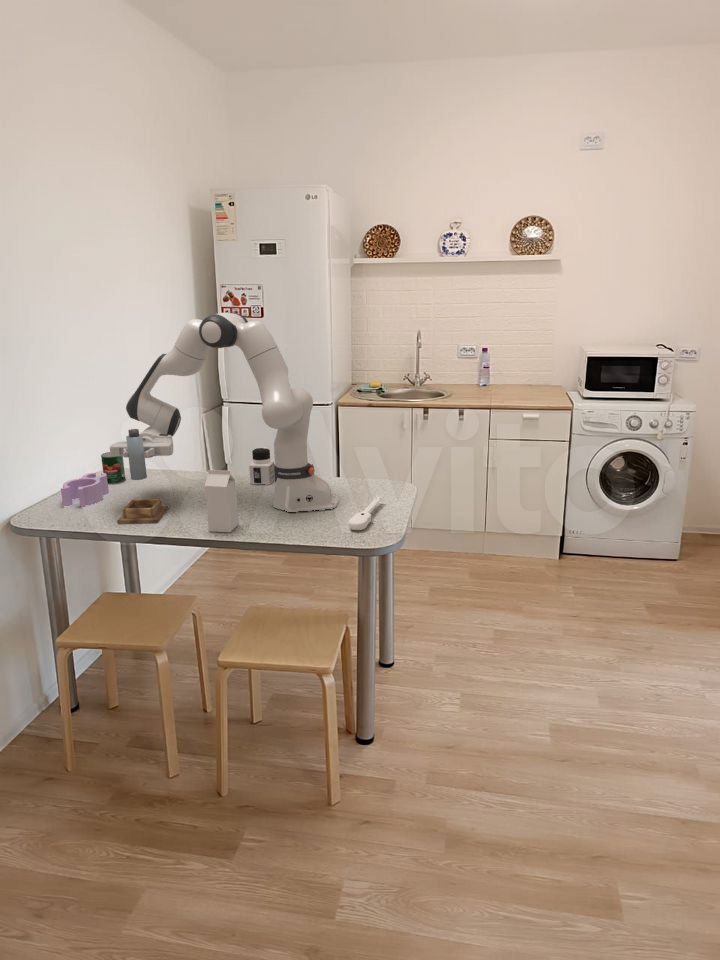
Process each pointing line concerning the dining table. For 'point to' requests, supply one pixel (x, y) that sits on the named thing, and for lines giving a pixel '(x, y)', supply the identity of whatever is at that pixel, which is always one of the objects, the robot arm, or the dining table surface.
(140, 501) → the carton stand
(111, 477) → the canned tomato
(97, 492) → the clip
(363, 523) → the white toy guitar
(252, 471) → the container
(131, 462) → the bottle
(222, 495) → the milk carton
